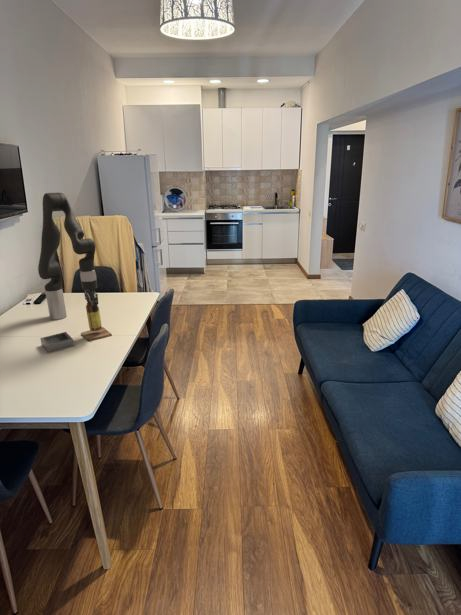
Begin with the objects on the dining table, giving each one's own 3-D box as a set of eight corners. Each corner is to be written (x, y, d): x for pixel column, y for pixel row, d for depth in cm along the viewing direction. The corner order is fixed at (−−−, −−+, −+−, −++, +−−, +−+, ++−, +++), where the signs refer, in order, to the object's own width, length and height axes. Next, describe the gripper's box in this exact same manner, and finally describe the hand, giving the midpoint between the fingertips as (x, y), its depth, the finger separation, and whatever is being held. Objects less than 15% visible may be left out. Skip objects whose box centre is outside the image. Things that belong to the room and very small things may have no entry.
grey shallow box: (41, 345, 206) (40, 338, 204) (67, 338, 213) (65, 331, 211) (47, 353, 197) (46, 345, 196) (73, 346, 204) (72, 338, 203)
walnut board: (81, 334, 218) (81, 332, 218) (103, 328, 225) (103, 327, 224) (89, 341, 209) (88, 339, 209) (111, 335, 216) (111, 333, 215)
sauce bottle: (104, 327, 217) (99, 292, 211) (97, 332, 212) (92, 295, 205) (94, 326, 219) (89, 290, 213) (86, 330, 214) (81, 294, 207)
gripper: (76, 277, 210) (81, 308, 216) (86, 283, 199) (90, 315, 205) (91, 274, 214) (95, 305, 220) (101, 280, 203) (105, 312, 209)
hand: (92, 310), depth 212 cm, fingers closed on sauce bottle, 6 cm apart
